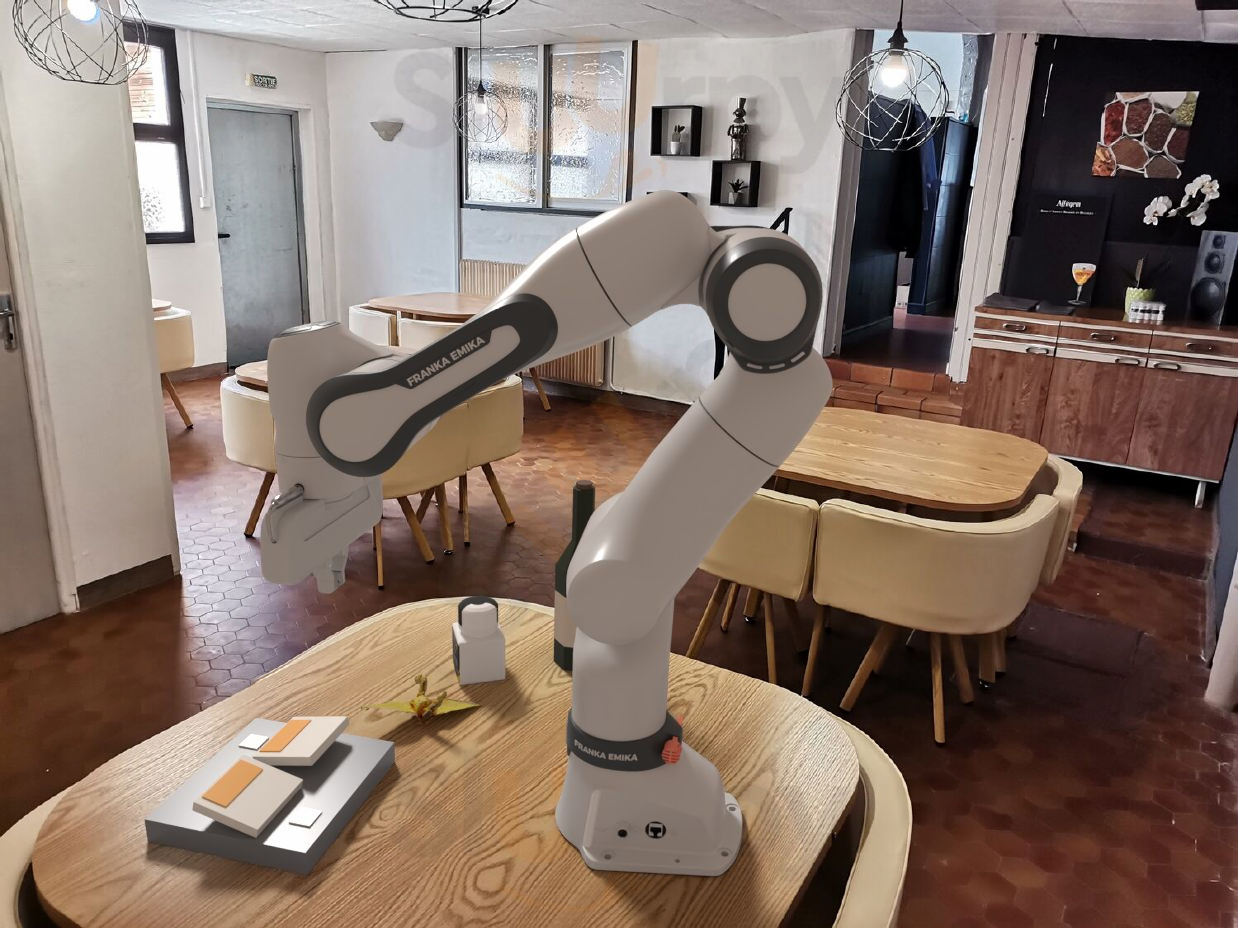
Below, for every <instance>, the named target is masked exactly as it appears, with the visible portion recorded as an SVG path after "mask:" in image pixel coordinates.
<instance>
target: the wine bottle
mask: <svg viewBox="0 0 1238 928" xmlns="http://www.w3.org/2000/svg"><path fill="white" fill-rule="evenodd" d="M593 484H594V483H593V481H591V480H589V479H578V480H576V482H575V485H574V486H573V487H572V510H571V511H572V513H571V514H572V515H571V517H572V518H571V540H570V541H569V543H568V544H567V546H566V547H565V549H564V551H563V552H562V554H561V556H560V557H559V558H558V560H557V561H556V563H555V565H554V567H555V568H554V611H553V612H554V617H553V622H554V623H553V624H554V625H553V627H554V628H553V662H554V663H555V664H556V665H557V666H558V667H559V668H560V669H562V670H563V671H567V672H572V673H573V649H574V642H575V636H576V628H577V626H576V625H575V623H574V622H573V620H572V618H571V616H570V613H569V610H568V606H567V594H566V580H567V571H568V568H569V565H570V562H571V560H572V558H573V555H574V553H575V551H576V549H577V546H578V544H579V542H580V539H581V537H582V535H583V533H584V530H585V528H586V526H587V523H588V521H589V519H590V517H591V516H592V514H593V512H594V511H595V510H596V509H595V508H596V507H595V505H596V487H595V486H593Z"/></svg>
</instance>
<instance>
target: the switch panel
mask: <svg viewBox="0 0 1238 928" xmlns="http://www.w3.org/2000/svg"><path fill="white" fill-rule="evenodd" d="M286 723H287V722H282V721H277V720H271V719H268V718H267V719H266V718H261V717H255V718H254V719H253V720H252V721H251V722H250V723H249V724H248V725H246V726H245V728H243V729H242V730H241V731H240V732H239V733H238V734H237V735H236V736H235V737H234V738H232V739H231V740H230V741H229V742H228V743H226V744H225V745H224V746H223V747H222V748H221V749H220V750H219V751H218V752H216V754H215V755H214V756H213V757H211V758H210V759H209V760H208V761H206V763H205V764H204V765H202V767H201V768H199V769H198V770H196V771H195V773H194V774H192V775H191V776H190V778H188V779H187V780H186V781H184V783H182V784H181V786H180V787H178V788H177V789H176V790H175V791H174V792H173V793H172V794H171V795H169V796H168V797H167V798H166V799H165V800H163V802H162V803H161V804H159V806H157V807H156V808H155V809H154V810H153V811H152V812H151V813H150V814H149V815H147V816H146V817H145V818H144V826H145V833H146V840H147V841H146V842H148V843H153V844H158V845H163V846H168V847H172V848H176V849H182V850H185V851H190V852H196V853H200V854H205V855H210V856H214V857H217V858H218V857H219V858H223V859H228V860H233V861H238V862H242V863H247V864H251V865H255V866H260V867H264V868H270V869H274V870H279V871H284V872H288V873H293V874H297V875H303V876H308V875H309V874H310V873H311V871H312V870H313V869H314V868H315V866H316V865H317V864H318V862H319V861H320V860H321V859H322V857H323V856H324V855H325V853H326V852H327V851H328V849H329V848H330V847H331V846H332V845H333V843H334V842H335V841H336V839H337V838H338V837H339V835H340V834H341V833H342V831H344V829H345V828H346V827H347V825H348V824H349V822H351V820H352V818H353V817H354V816H355V815H356V813H357V812H358V811H359V810H360V808H361V807H362V805H363V804H364V803H365V802H366V801H367V799H368V798H369V797H370V796H371V794H372V792H373V791H374V790H375V789H376V787H377V786H378V784H379V783H380V782H382V780H383V779H384V777H385V776H386V774H387V773H388V772H389V771H390V769H391V768H392V767H393V765H394V764H395V763H396V755H395V754H396V753H395V742H394V741H390V740H382V739H379V738H378V739H377V738H374V737H366V736H362V735H355V734H350V733H345V732H342V733H341V734H340V736H339V737H338V738H337V739H336V740H335V741H334V742H333V743H332V744H331V745H330V746H329V748H328V749H327V750H326V751H325V752H324V753H323V754H322V755H321V756H320V757H319V759H318V760H317V761H316V762H315V763H314V764H313V765H312V766H294V765H270V766H272V767H274V768H277V769H279V770H281V771H284V772H286V773H289V774H291V775H293V776H296V777H298V778H300V779H303V782H302V787H301V789H300V790H299V791H298V792H297V793H296V794H295V795H294V796H293V797H292V799H291V800H290V801H289V802H288V803H287V804H286V805H285V806H284V807H283V809H282V810H281V811H280V812H279V813H278V814H277V815H276V816H275V818H274V819H273V820H272V821H271V822H270V823H269V824H268V825H267V826H266V828H265V829H264V830H263V831H262V832H261V833H260V834H259V835H258V836H257V838H255V837H253V836H250V835H248V834H246V833H243V832H241V831H239V830H237V829H234V828H232V827H230V826H227V825H225V824H223V823H220V822H218V821H216V820H214V819H211V818H209V817H207V816H204V815H202V814H200V813H197V812H195V811H193V810H192V808H193V802H194V801H195V800H196V799H197V798H198V797H199V796H200V795H201V794H202V793H203V792H204V791H205V790H206V789H208V788H209V787H210V786H211V785H212V784H213V783H214V782H215V781H216V780H217V779H218V778H219V777H220V776H221V775H222V774H223V773H224V772H225V771H226V770H228V769H229V768H230V767H231V766H232V765H233V764H234V763H235V762H236V761H237V760H238V759H239V758H240V757H241V756H242V755H243V754H244V755H246V756H248V757H251V758H253V757H252V756H253V755H254V754H255V753H257V752H258V751H259V750H260V749H261V748H262V747H263V746H264V745H265V744H266V743H267V742H268V741H269V740H270V739H271V738H272V737H273V736H274V735H275V734H276V733H277V732H278V731H279V730H280V729H281V728H282V727H283V726H284V725H285V724H286Z"/></svg>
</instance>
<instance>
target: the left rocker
mask: <svg viewBox="0 0 1238 928" xmlns="http://www.w3.org/2000/svg"><path fill="white" fill-rule="evenodd" d="M302 782H303V779H300V778H298V777H296V776H293V775H291V774H289V773H286V772H284V771H281V770H279V769H277V768H274V767H272V766H270V765H267V764H265V763H262V762H260V761H258V760H255V759H253V758H251V757H248V756H246V755H244V754H243V755H242V756H241V757H240V758H239V759H238V760H237V761H236V762H235V763H234V764H233V765H232V766H231V767H230V768H229V769H228V770H226V771H225V772H224V773H223V774H222V775H221V776H220V777H219V778H218V779H217V780H216V781H215V782H214V783H213V784H212V785H211V786H210V787H209V788H208V789H206V790H205V791H204V792H203V793H202V794H201V795H200V796H199V797H198V798H197V799H196V800H195V801H194V802H193V808H192V810H193V811H195V812H197V813H200V814H202V815H204V816H207V817H209V818H211V819H214V820H216V821H218V822H220V823H223V824H225V825H227V826H230V827H232V828H234V829H237V830H239V831H241V832H243V833H246V834H248V835H250V836H253V837H255V838H257V836H258V835H259V834H260V833H261V832H262V831H263V830H264V829H265V828H266V826H267V825H268V824H269V823H270V822H271V821H272V820H273V819H274V818H275V816H276V815H277V814H278V813H279V812H280V811H281V810H282V809H283V807H284V806H285V805H286V804H287V803H288V802H289V801H290V800H291V799H292V797H293V796H294V795H295V794H296V793H297V792H298V791H299V790H300V789H301V787H302Z"/></svg>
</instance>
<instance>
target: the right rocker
mask: <svg viewBox="0 0 1238 928" xmlns="http://www.w3.org/2000/svg"><path fill="white" fill-rule="evenodd" d="M285 723H286V724H285V725H284V726H283V727H282V728H281V729H280V730H279V731H278V732H277V733H276V734H275V735H274V736H273V737H272V738H271V739H270V740H269V741H268V742H267V743H266V744H265V745H264V746H263V747H262V748H261V749H260V750H259V751H258V752H257V753H255V754H254V755H253V756H252V757H253V759H255V760H258V761H260V762H262V763H265V764H267V765H294V766H312V765H313V764H314V763H315V762H316V761H317V760H318V759H319V757H320V756H321V755H322V754H323V753H324V752H325V751H326V750H327V749H328V748H329V746H330V745H331V744H332V743H333V742H334V741H335V740H336V739H337V738H338V737H339V736H340V734H341V733H344V731H345V730H346V729H347V728H348V727H349V726H350V721H349V717H348V716H344V715H343V716H338V715H337V716H330V715H329V716H323V715H321V716H293V717H291V719H289V721H288V722H285Z"/></svg>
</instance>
